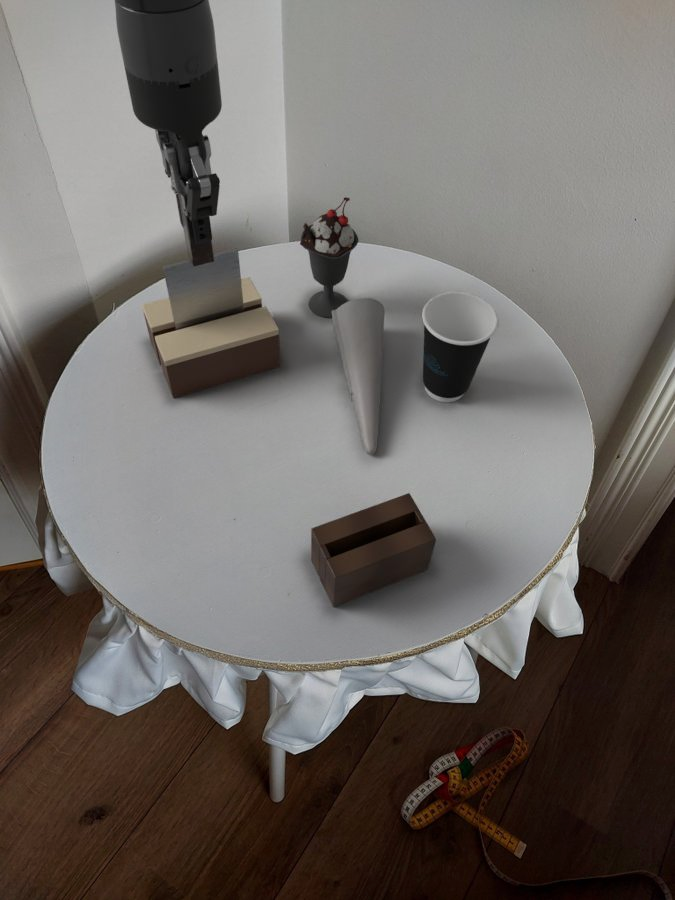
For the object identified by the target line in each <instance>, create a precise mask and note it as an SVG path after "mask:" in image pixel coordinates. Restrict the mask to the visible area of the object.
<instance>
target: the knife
mask: <svg viewBox="0 0 675 900" xmlns="http://www.w3.org/2000/svg"><path fill="white" fill-rule="evenodd" d="M177 194H178V193H177ZM178 199H179V205H180V211H181V217H182V223H183V227H182V229H183V235H184V241H185V247H186V252H187V256H188V258H189V259H186V260H183V261H179V262H174V263H171V264H167V265H163V266H162V270H163V275H164V280H165V286H166V289H167V294H168V295H167V296H168V298H169V300H170V305H171V310H172V315H173V320H174V324H175V329H176V330H180V329H184V328H187V327H191V326H195V325H198V324H202V323H206V322H209V321H213V320H217V319H221V318H224V317H228V316H232V315H235V314H239V313H243V312H244V306H243V295H242V285H241V279H242V276H241V266H240V265H241V264H240V254H239V249H238V248H237V247H236V248H235V247H234V248H232V249H227V250H223V251H219V252H215V253H214V250H213V241H212V240H211V241H210V242H209V243H205V244H201V245H197V246H193V245H192V244H191V243H190V241H189V238H188V232H187V226H186V219H185V213H184V212H183V209H182V207H183V205H182V199H181V195H180V194H178Z"/></svg>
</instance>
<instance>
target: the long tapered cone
mask: <svg viewBox="0 0 675 900" xmlns="http://www.w3.org/2000/svg"><path fill="white" fill-rule="evenodd" d="M385 311H386V310H385V306H384V304H383V303H382V302H381V301H380V300H378V299H375V298H371V297H360V298H354V299H351V300H348V301H347V302H346V303H344V304H343V305H341V306H340V307H339V308H338V309H336V310H332V317H331V318H332V325H333V331H334V336H335V339H336V343H337V348H338V351H339V352H338V353H339V356H340V360H341V364H342V368H343V372H344V377H345V380H346V384H347V389H348V393H349V397H350V401H351V402H352V405H353V410H354V413H355V418H356V422H357V425H358V429H359V435H360V440H361V443H362V446H363V448H364V451H365V453H366V454H367V455H369V456H372V455H374V454H375V453H376V451H377V448H378V436H379V426H380V425H379V423H380V406H381V405H380V404H381V403H380V402H381V387H382V385H381V384H382V366H383V365H382V364H383V348H384V331H385Z"/></svg>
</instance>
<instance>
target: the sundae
mask: <svg viewBox="0 0 675 900" xmlns="http://www.w3.org/2000/svg"><path fill="white" fill-rule="evenodd" d="M349 201H351V198H350V197H343V200H342V202H341V203H340V205H339V206H338V207H336V208H335V209H333V208H330V209H328V211H327V212H326V213H324V214H321V215H319V217H318V218H316V219H315V220H314V222H313V224H310V225H308V223H307V222H304V223H303V225H302V228H303V231H302V233H301V237H300V242H299V245H300V246H301V247H303V248H304V249H305V250H307V252H308V256H309V264H310V270H311V273H312V277H313V279H314V280H315V281H316V282H317V283H319V284H320V285H321V286H323V290H321V291H319V292H316V293H314V294H313V295H312V296H311V297H310V298H309V300H308V308H309V310H310V311H311V312H312V313H313V314H315V315H316V316H319V317H322V318H326V319H327V318H332V310H336V309H338V308H339V307H340V306H341V305H343V304H344V303H346V302H348V301H347V298H346V297H345V296H344V295H343V294H342V293H339V292H337V291H334V287H335V286H337V285H339V283H341V282H343V280H344V279H345V277H346V273H347V270H348V266H349V260H350V256H351V254H352V253H351V252H352V251H353V250H354V249H355V248H356V247H357V245H358V244H359V237H358V234H357V232H356V231H355V230H354V228H352V226H351V224H349V218H348V216H346V215H345V207H346V205H347V203H348V202H349ZM342 205H343V207H342V212H341V213H342V214H341V215H338V213H337V210H338V209H339V208H341V206H342Z"/></svg>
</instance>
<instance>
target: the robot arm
mask: <svg viewBox="0 0 675 900" xmlns="http://www.w3.org/2000/svg"><path fill="white" fill-rule="evenodd" d="M114 5H115V6H114V7H115V21H116V30H117V36H118V43H119V47H120V53H121V57H122V62H123V66H124V71H125V77H126V81H127V86H128V91H129V97H130V103H131V106H132V111H133V114H134V116H135V117H136V119H137V120H138V121H139V122H140V123H142V124H143V125H144V126H146V127H147V128H150V129H153V130H154V133H155V138H156V142H157V144H158V146H159V149H160V153H161V159H162V165H163V168H164V172H165V173H164V174H165V175H167V178H168V179H170V182H171V184H170V189H171V191H173V194H174V195H175V199H176V204H177V211H178V217H179V222H180V224H181V226H182V228H183V223H182V217H181V211H180V205H179V199H178V194H180V195H181V199H182V205H183V207H182V209H183V212H184V213H185V219H186V226H187V232H188V238H189V241H190V243H191V244H192V245H193V246H197V245H201V244H205V243H209V242H210V241H212V240H213V233H212V225H211V219H210V217H214V216H217V214H218V205H219V195H220V184H221V179H220V177H219V176H218V174H217V173H216V172H215V173H212V167H211V160H210V159H211V157H212V148H211V143H210V138H209V136H208V135H207V134H203V131H204V130H205V128H206V127H207V126H208V125H210V123H212V122H214V121H215V120H216V119H217V118H218V117H219V115H220V113H221V111H222V107H223V103H222V101H223V100H222V92H221V83H220V81H221V80H220V71H219V61H218V52H217V42H216V33H215V32H216V31H215V24H214V17H213V14H212V10H211V5H210V1H209V0H114Z"/></svg>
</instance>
